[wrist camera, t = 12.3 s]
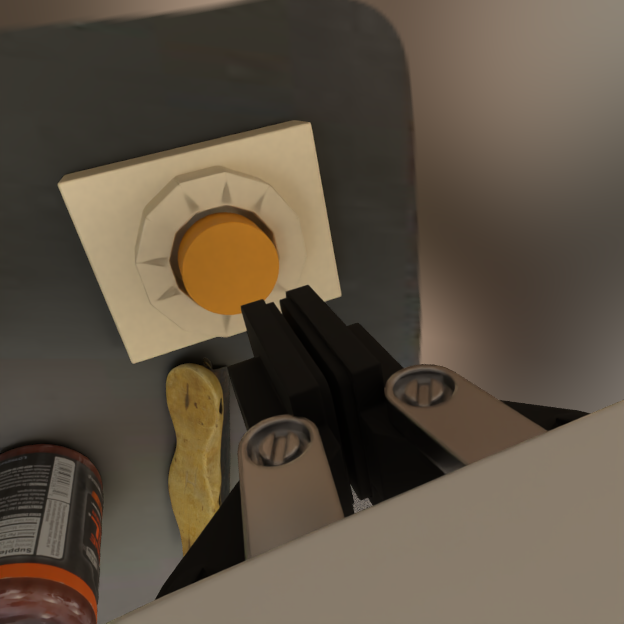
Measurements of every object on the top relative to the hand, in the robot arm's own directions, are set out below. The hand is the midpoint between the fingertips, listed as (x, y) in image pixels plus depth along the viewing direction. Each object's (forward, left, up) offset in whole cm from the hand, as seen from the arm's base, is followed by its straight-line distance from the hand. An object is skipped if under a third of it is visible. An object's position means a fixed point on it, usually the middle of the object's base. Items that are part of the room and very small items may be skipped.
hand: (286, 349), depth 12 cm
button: (0, 0, -9) cm, 9 cm away
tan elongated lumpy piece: (-12, +4, -13) cm, 18 cm away
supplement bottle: (-10, +12, -13) cm, 20 cm away
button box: (0, 0, -13) cm, 13 cm away
